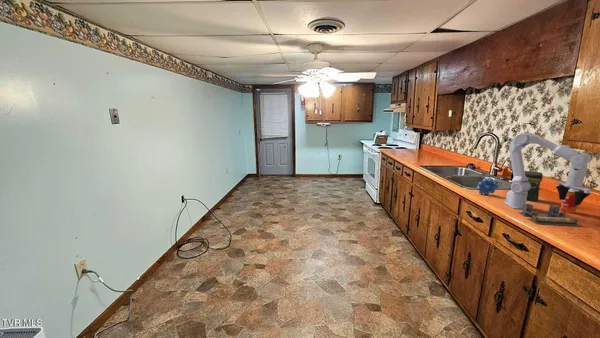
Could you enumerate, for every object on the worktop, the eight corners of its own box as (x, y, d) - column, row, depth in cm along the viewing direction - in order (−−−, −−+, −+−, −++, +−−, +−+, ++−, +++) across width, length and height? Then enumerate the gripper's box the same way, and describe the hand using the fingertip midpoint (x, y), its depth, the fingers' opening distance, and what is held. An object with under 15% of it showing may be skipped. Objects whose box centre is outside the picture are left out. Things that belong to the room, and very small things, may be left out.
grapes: (495, 194, 170) (499, 178, 167) (496, 197, 164) (500, 180, 162) (475, 191, 176) (478, 175, 173) (475, 194, 171) (478, 177, 168)
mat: (527, 219, 131) (527, 218, 131) (570, 221, 128) (570, 220, 128) (536, 224, 125) (536, 223, 125) (581, 226, 123) (581, 225, 122)
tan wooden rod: (535, 221, 127) (536, 217, 126) (531, 219, 129) (532, 215, 128) (576, 224, 124) (578, 219, 124) (572, 222, 127) (573, 217, 126)
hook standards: (518, 213, 138) (521, 203, 137) (554, 215, 136) (557, 205, 135) (528, 218, 132) (530, 207, 130) (566, 220, 129) (569, 209, 128)
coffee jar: (536, 199, 162) (542, 171, 158) (538, 202, 156) (545, 174, 152) (517, 196, 168) (522, 169, 163) (518, 199, 161) (524, 171, 157)
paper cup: (556, 207, 147) (562, 185, 144) (575, 211, 142) (582, 188, 139) (559, 211, 141) (565, 188, 138) (578, 215, 136) (585, 191, 133)
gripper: (554, 173, 132) (548, 197, 135) (583, 180, 118) (575, 207, 121) (567, 173, 132) (561, 197, 135) (598, 180, 118) (590, 207, 121)
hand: (569, 202), depth 128 cm, fingers open, 7 cm apart
